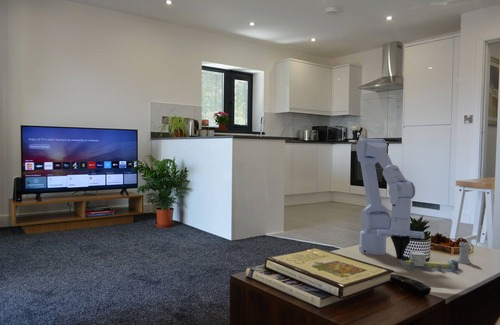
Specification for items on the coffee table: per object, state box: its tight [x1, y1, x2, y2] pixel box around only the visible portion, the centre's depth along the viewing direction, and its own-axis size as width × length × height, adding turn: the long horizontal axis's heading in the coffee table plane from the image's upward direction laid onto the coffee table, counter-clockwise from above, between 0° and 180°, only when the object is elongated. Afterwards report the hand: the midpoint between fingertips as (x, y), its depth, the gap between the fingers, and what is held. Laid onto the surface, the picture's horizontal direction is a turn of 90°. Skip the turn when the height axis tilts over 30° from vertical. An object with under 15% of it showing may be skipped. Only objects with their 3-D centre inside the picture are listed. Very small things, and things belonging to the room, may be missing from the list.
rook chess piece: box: [456, 241, 472, 265], centre depth 127 cm, size 4×4×8 cm
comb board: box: [397, 259, 463, 274], centre depth 121 cm, size 17×10×3 cm, turn 80°
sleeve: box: [408, 250, 427, 267], centre depth 122 cm, size 4×4×4 cm
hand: (399, 258), depth 123 cm, fingers closed
